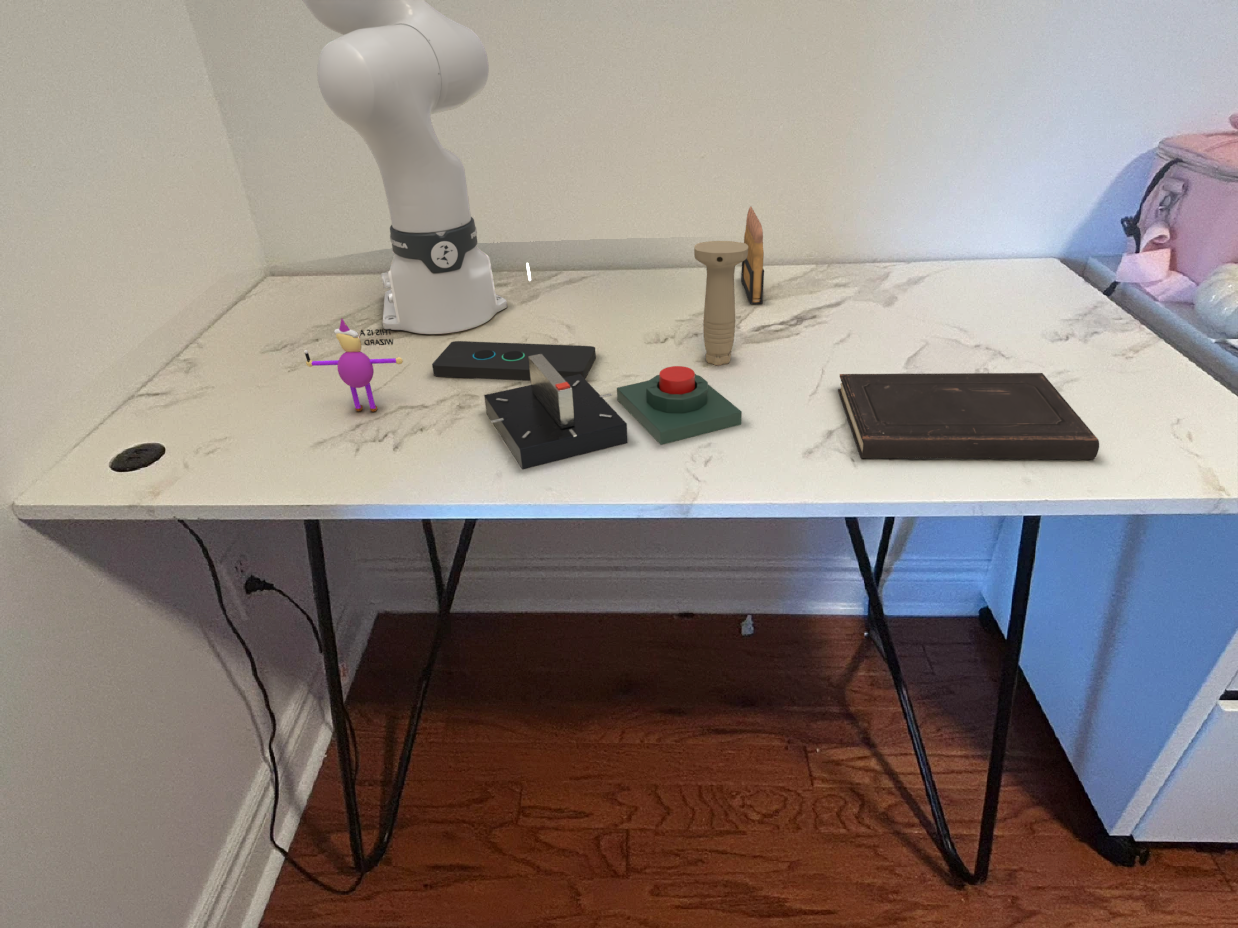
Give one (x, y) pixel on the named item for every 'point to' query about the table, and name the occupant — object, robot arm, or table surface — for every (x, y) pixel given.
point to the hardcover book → (963, 417)
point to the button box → (678, 410)
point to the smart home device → (510, 360)
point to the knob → (552, 391)
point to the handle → (719, 296)
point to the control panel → (554, 424)
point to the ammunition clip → (753, 260)
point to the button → (677, 380)
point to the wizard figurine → (355, 362)
